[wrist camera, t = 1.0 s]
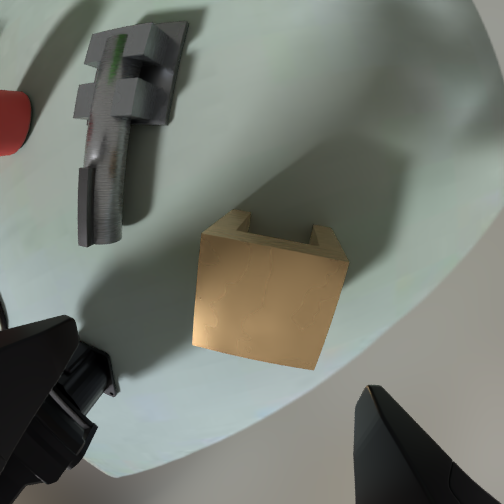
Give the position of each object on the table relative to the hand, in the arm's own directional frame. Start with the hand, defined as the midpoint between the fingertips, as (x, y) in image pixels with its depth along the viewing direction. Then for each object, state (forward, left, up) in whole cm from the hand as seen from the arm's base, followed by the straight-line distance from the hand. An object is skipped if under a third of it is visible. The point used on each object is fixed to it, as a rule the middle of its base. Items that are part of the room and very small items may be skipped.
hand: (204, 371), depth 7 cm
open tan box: (-1, -1, -12) cm, 12 cm away
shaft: (+6, +11, -12) cm, 17 cm away
